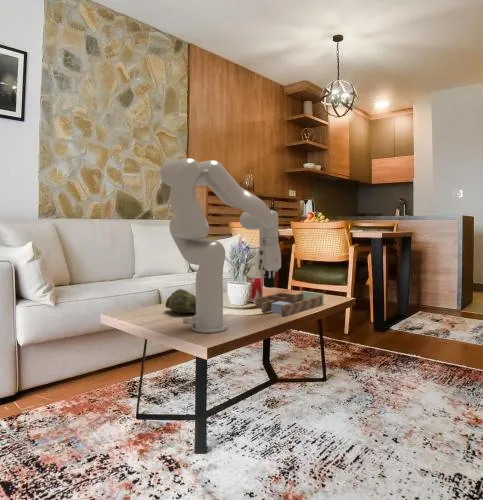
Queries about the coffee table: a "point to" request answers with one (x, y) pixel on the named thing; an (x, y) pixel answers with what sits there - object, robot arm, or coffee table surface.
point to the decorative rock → (181, 302)
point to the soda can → (255, 287)
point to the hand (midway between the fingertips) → (269, 287)
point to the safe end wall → (312, 295)
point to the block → (278, 307)
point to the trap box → (296, 301)
